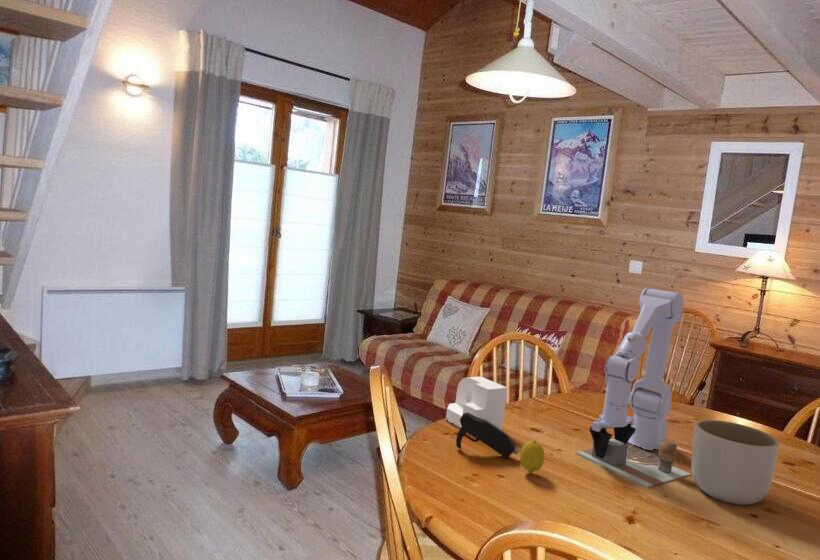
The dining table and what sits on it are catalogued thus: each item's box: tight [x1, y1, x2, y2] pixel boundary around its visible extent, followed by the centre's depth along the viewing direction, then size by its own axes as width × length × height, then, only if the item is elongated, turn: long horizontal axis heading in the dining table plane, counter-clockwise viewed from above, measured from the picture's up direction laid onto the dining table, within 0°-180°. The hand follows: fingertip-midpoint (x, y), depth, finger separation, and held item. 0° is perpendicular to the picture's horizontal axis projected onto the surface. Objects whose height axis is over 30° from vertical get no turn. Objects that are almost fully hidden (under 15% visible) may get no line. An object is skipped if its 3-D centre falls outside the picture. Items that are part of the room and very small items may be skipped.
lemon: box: [519, 439, 545, 474], centre depth 138 cm, size 6×6×8 cm
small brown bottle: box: [657, 440, 678, 473], centre depth 146 cm, size 4×4×7 cm
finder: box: [592, 437, 629, 467], centre depth 150 cm, size 4×7×5 cm, turn 34°
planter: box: [690, 419, 780, 506], centre depth 136 cm, size 17×17×15 cm
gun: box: [455, 413, 519, 458], centre depth 148 cm, size 3×16×10 cm, turn 78°
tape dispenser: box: [445, 376, 508, 430], centre depth 169 cm, size 16×10×13 cm, turn 33°
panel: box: [575, 448, 692, 489], centre depth 150 cm, size 18×21×1 cm
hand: (609, 454), depth 150 cm, fingers open, 7 cm apart
